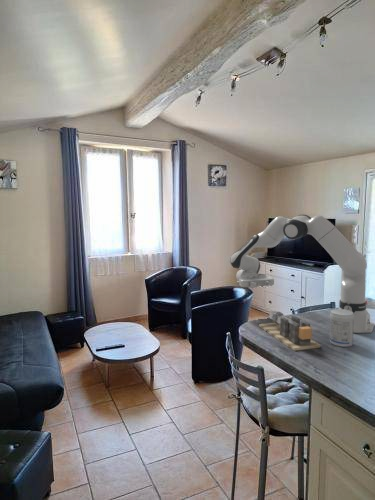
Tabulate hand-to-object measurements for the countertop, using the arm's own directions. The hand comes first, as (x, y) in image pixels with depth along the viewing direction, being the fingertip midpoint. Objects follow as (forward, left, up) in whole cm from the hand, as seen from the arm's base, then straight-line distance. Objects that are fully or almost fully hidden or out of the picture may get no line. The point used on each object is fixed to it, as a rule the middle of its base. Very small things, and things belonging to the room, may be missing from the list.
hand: (262, 284), depth 180 cm
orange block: (+20, +35, -16) cm, 43 cm away
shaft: (+11, +19, -17) cm, 28 cm away
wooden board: (+13, +22, -20) cm, 33 cm away
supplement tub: (+5, +44, -20) cm, 49 cm away
